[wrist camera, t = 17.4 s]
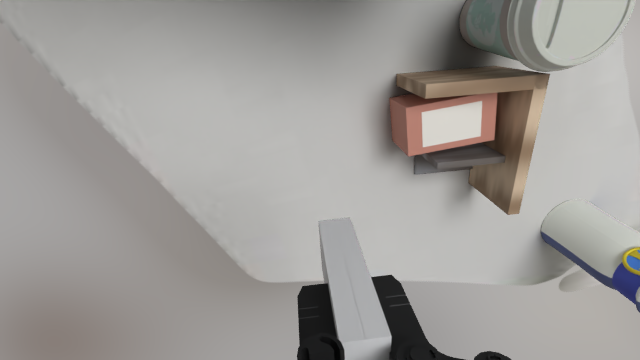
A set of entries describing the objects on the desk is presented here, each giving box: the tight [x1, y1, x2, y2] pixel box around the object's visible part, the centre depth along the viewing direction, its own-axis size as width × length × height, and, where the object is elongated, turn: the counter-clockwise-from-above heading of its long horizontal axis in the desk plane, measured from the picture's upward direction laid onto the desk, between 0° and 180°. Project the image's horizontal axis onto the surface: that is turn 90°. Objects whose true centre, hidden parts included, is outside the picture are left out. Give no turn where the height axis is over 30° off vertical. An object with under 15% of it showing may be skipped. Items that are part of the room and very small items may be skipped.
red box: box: [389, 93, 497, 156], centre depth 34 cm, size 5×9×6 cm, turn 99°
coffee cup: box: [459, 0, 636, 72], centre depth 28 cm, size 9×8×12 cm
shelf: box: [396, 66, 550, 215], centre depth 34 cm, size 14×11×8 cm
